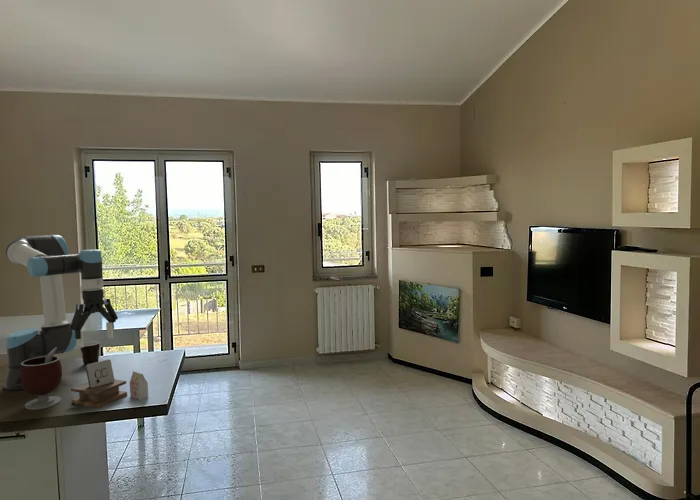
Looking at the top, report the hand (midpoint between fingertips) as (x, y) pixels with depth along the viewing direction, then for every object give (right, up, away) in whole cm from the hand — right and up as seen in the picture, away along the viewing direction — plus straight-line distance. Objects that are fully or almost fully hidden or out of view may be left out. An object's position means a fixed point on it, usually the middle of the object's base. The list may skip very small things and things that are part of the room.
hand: (95, 342), depth 201 cm
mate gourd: (-20, -24, -1) cm, 31 cm away
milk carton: (+16, -23, +3) cm, 28 cm away
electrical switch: (+1, -17, +1) cm, 17 cm away
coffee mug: (-27, -20, +49) cm, 60 cm away
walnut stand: (+1, -23, +1) cm, 23 cm away
